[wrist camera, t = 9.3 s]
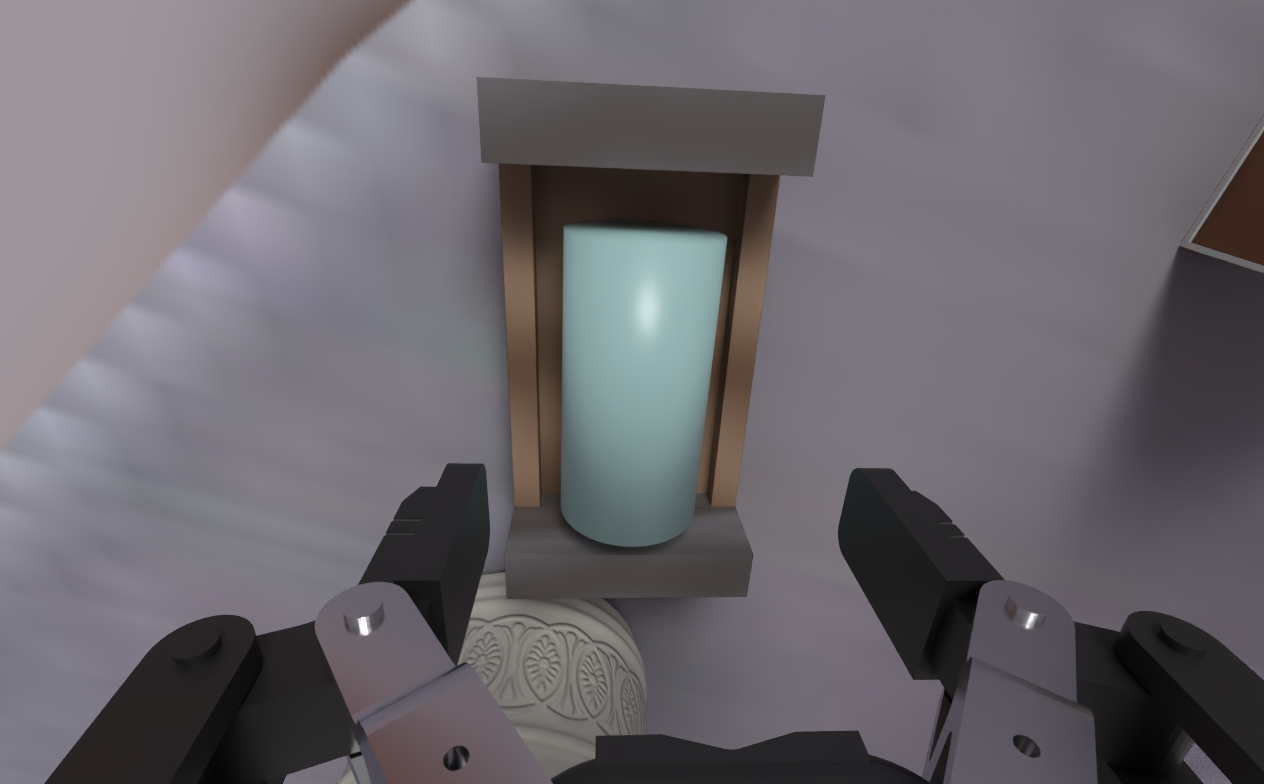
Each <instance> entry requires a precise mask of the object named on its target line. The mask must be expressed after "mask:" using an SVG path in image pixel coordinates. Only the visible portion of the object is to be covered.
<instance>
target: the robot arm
mask: <svg viewBox="0 0 1264 784" xmlns="http://www.w3.org/2000/svg"><path fill="white" fill-rule="evenodd" d="M489 537H490V521H489V507H488V494H487V480H486V470H485V466H484V464H457V463H449V464H447V465H446V467H445V469H444V471H443V474H442V476H441V478H440V480H439V482H438V485H437V487H420V488H418V489H417V490H416V491H415V492H413V493H412V494H411V495H410V496H408V497H407V498H406V499H405V500H404V501H402V503H401V505H400V507H399V509H398V511H397V513H396V515H395V517H394V521H392V522H391V524H390V526H389V528H388V530H387V532H386V536H384V537H383V539H382V541H381V543H380V545H379V547H378V548H377V550H376V552H375V554H374V556H373V558H372V560H371V562H370V563H369V565H368V567H367V569H366V571H365V573H364V575H363V577H362V578H361V580H360V582H359V584H358V585H357V586H354V587H351V588H349V589H347V590H345V591H343V592H341V593H339V594H338V595H336V596H335V597H333V598H332V599H331V600H330V601H328V602H327V603H326V604H325V605H324V607H323V608H322V609H321V610H320V612H319V614H318V616H317V618H316V620H315V621H312V622H310V623H307V624H303V625H300V626H296V627H292V628H287V629H283V630H279V631H275V632H271V633H267V634H262V635H258V636H256V634H255V630H254V627H253V625H252V624H251V623H250V621H248V620H247V619H245V618H243V617H240V616H235V615H218V616H212V617H207V618H203V619H200V620H197V621H194V622H192V623H189V624H187V625H185V626H183V627H181V628H179V629H177V630H175V631H173V632H172V633H170V634H168V635H167V636H166V637H164V638H163V639H161V640H160V641H159V642H158V643H157V644H156V645H154V646H153V647H152V648H151V649H150V651H149V652H148V653H147V654H146V655H145V656H144V658H143V659H142V660H141V662H140V663H139V664H138V665H137V667H136V668H135V669H134V670H133V672H132V673H131V674H130V675H129V677H128V678H127V679H126V681H125V682H124V683H123V684H122V686H121V687H120V688H119V689H118V691H117V692H116V693H115V694H114V696H113V697H112V698H111V700H110V701H109V702H108V703H107V705H106V706H105V707H104V708H103V710H102V711H101V712H100V714H99V715H98V716H97V717H96V719H95V720H94V721H93V722H92V724H91V725H90V726H89V727H88V729H87V730H86V731H85V733H84V734H83V735H82V736H81V738H80V739H79V740H78V741H77V743H76V744H75V745H74V747H73V748H72V749H71V750H70V752H69V753H68V754H67V755H66V757H65V758H64V759H63V760H62V762H61V763H60V764H59V766H58V767H57V768H56V769H55V771H54V772H53V773H52V774H51V776H50V777H49V778H48V779H47V781H46V782H45V783H44V784H283V782H284V779H285V777H286V775H287V774H290V773H294V772H297V771H300V770H303V769H306V768H309V767H312V766H315V765H318V764H321V763H325V762H328V761H331V760H334V759H337V758H340V757H343V756H346V757H347V760H348V762H349V765H350V767H351V770H352V772H353V775H354V777H355V780H356V782H357V784H1203V782H1202V781H1201V780H1200V779H1199V778H1198V777H1197V775H1196V774H1195V773H1194V772H1193V771H1192V770H1191V768H1190V767H1189V766H1188V765H1187V764H1186V763H1185V762H1184V760H1183V759H1184V758H1185V756H1186V755H1187V753H1188V752H1189V750H1190V749H1191V747H1192V746H1193V744H1194V743H1196V744H1197V745H1198V746H1199V747H1200V748H1201V749H1202V751H1203V752H1204V753H1205V754H1206V755H1207V756H1208V757H1209V758H1210V759H1211V760H1212V762H1213V763H1214V764H1215V765H1216V766H1217V767H1218V768H1219V769H1220V770H1221V771H1222V773H1223V774H1224V775H1225V776H1226V777H1227V778H1228V779H1229V780H1230V782H1231V783H1232V784H1264V680H1263V679H1262V678H1260V677H1259V676H1258V675H1257V674H1256V673H1255V672H1254V671H1253V670H1251V669H1250V668H1249V667H1248V666H1247V665H1246V664H1245V663H1243V662H1242V661H1241V660H1240V659H1239V658H1238V657H1237V656H1235V655H1234V654H1233V653H1232V652H1231V651H1230V650H1229V649H1228V648H1226V647H1225V646H1224V645H1223V644H1222V643H1220V642H1219V641H1218V640H1217V639H1215V638H1214V637H1212V636H1211V635H1210V634H1208V633H1206V632H1205V631H1203V630H1201V629H1200V628H1198V627H1196V626H1194V625H1192V624H1190V623H1188V622H1185V621H1183V620H1181V619H1178V618H1176V617H1173V616H1170V615H1166V614H1163V613H1158V612H1152V611H1138V612H1134V613H1132V614H1130V615H1129V616H1128V618H1127V619H1126V621H1125V623H1124V625H1123V627H1122V629H1121V631H1120V632H1118V631H1113V630H1109V629H1104V628H1100V627H1095V626H1091V625H1086V624H1082V623H1078V622H1073V619H1072V617H1071V616H1070V615H1069V613H1068V612H1067V611H1066V610H1065V609H1064V608H1063V607H1062V606H1061V605H1060V604H1059V603H1058V602H1057V601H1055V600H1054V599H1052V598H1051V597H1049V596H1048V595H1046V594H1044V593H1043V592H1041V591H1039V590H1037V589H1035V588H1032V587H1030V586H1027V585H1024V584H1021V583H1017V582H1013V581H1006V580H1004V578H1003V577H1002V576H1001V575H1000V574H999V573H998V572H997V571H996V569H995V568H994V567H993V566H992V565H991V564H990V563H989V562H988V561H987V559H986V558H985V557H984V556H983V555H982V554H981V553H980V552H979V550H978V549H977V548H976V547H975V546H974V545H973V544H972V543H971V542H970V540H969V539H968V538H964V534H963V533H962V532H961V530H960V529H959V528H958V527H957V526H956V525H954V524H952V520H951V519H950V518H949V517H948V516H947V515H946V514H945V513H944V511H943V510H942V509H941V508H940V507H939V506H938V505H937V504H935V503H934V502H932V501H931V500H929V499H928V498H926V497H924V496H923V495H921V494H920V493H918V492H917V491H911V490H910V489H909V488H908V486H907V485H906V484H905V483H904V482H903V481H902V479H901V478H900V477H899V476H898V475H897V474H896V472H895V471H894V470H892V469H889V468H856V469H854V470H853V471H852V473H851V475H850V478H849V483H848V487H847V492H846V496H845V500H844V505H843V509H842V513H841V518H840V522H839V527H838V540H839V546H840V550H841V552H842V555H843V557H844V558H845V560H846V562H847V564H848V565H849V567H850V569H851V571H852V572H853V574H854V576H855V578H856V579H857V581H858V583H859V585H860V587H861V588H862V590H863V592H864V594H865V595H866V597H867V599H868V601H869V602H870V604H871V606H872V608H873V609H874V611H875V613H876V615H877V616H878V618H879V620H880V622H881V624H882V625H883V627H884V629H885V631H886V632H887V634H888V636H889V638H890V639H891V641H892V643H893V645H894V646H895V648H896V650H897V652H898V653H899V655H900V657H901V659H902V661H903V662H904V664H905V666H906V668H907V669H908V671H909V673H910V675H911V676H912V678H913V680H934V679H939V680H940V681H941V683H942V684H943V686H944V689H943V692H942V695H941V697H940V700H939V704H938V708H937V713H936V717H935V721H934V726H933V730H932V735H931V739H930V744H929V748H928V752H927V757H926V761H925V766H924V770H923V774H922V777H920V776H918V775H917V774H915V773H913V772H911V771H910V770H908V769H906V768H904V767H901V766H899V765H897V764H895V763H893V762H890V761H887V760H884V759H882V758H879V757H876V756H872V755H868V752H867V750H866V748H865V745H864V743H863V741H862V738H861V736H860V734H859V731H817V732H793V733H790V734H787V735H783V736H780V737H777V738H773V739H770V740H767V741H763V742H760V743H757V744H753V745H750V746H747V747H743V748H740V749H736V750H728V749H723V748H718V747H714V746H710V745H705V744H701V743H697V742H692V741H688V740H683V739H679V738H675V737H670V736H666V735H662V734H658V735H606V736H596V741H595V759H592V760H588V761H585V762H582V763H580V764H577V765H575V766H573V767H571V768H568V769H566V770H565V771H563V772H561V773H560V774H558V775H556V776H555V777H553V778H551V779H549V777H548V776H547V774H546V773H545V771H544V770H543V768H542V767H541V766H540V764H539V763H538V761H537V760H536V758H535V757H534V755H533V754H532V752H531V751H530V750H529V748H528V747H527V745H526V744H525V742H524V741H523V739H522V738H521V736H520V735H519V734H518V732H517V731H516V729H515V728H514V726H513V725H512V723H511V722H510V720H509V719H508V717H507V716H506V715H505V713H504V712H503V710H502V709H501V707H500V706H499V704H498V703H497V701H496V700H495V699H494V697H493V696H492V694H491V693H490V691H489V690H488V688H487V687H486V685H485V684H484V683H483V681H482V680H481V678H480V677H479V675H478V674H477V672H476V671H475V670H474V668H473V667H472V666H471V665H470V664H468V663H466V662H463V663H461V664H460V665H458V661H459V658H460V654H461V650H462V646H463V643H464V639H465V635H466V631H467V628H468V624H469V620H470V616H471V613H472V609H473V605H474V601H475V598H476V594H477V590H478V586H479V583H480V579H481V575H482V572H483V568H484V564H485V560H486V557H487V553H488V547H489ZM457 665H458V666H457Z"/></svg>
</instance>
